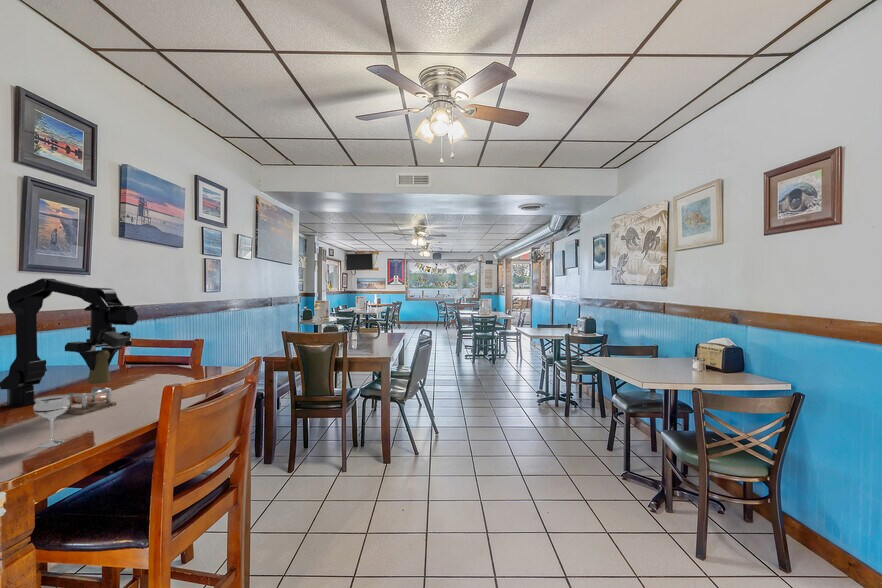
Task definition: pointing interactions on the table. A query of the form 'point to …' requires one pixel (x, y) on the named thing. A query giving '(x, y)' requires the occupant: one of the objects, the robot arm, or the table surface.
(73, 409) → the base
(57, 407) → the wineglass
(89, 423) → the table surface
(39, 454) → the table surface
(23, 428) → the table surface
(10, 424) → the table surface
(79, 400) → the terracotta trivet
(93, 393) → the silver twin cylinder holder
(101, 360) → the olive green tapered cylinder
